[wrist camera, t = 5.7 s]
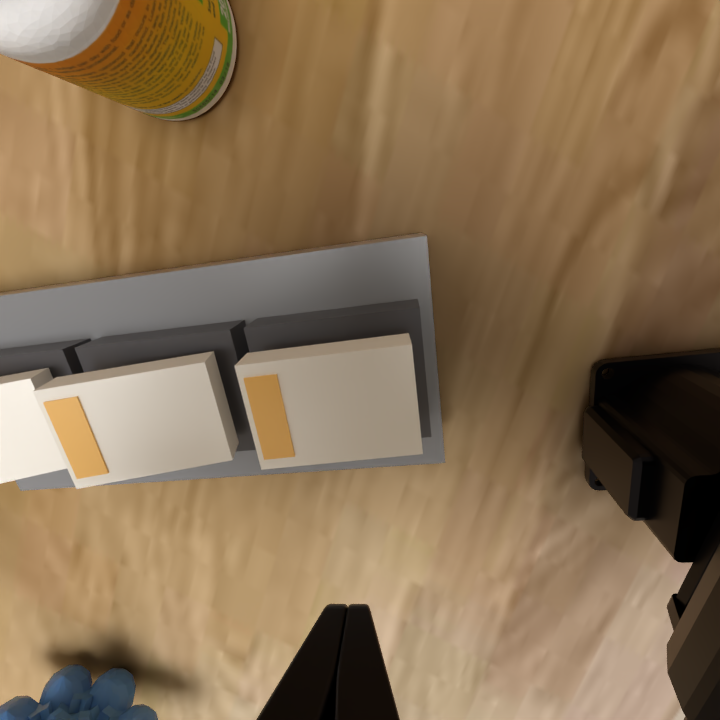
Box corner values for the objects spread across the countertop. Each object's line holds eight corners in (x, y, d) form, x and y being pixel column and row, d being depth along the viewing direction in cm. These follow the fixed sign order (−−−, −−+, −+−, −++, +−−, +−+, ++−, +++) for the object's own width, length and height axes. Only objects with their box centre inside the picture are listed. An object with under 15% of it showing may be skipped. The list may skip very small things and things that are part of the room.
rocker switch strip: (421, 232, 16) (430, 237, 12) (438, 426, 19) (449, 484, 15) (-2, 292, 19) (-116, 314, 15) (69, 455, 22) (-8, 511, 17)
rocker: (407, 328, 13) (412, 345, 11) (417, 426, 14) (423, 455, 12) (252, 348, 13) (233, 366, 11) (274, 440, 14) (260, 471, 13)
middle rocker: (217, 346, 14) (204, 363, 12) (241, 435, 15) (232, 461, 13) (66, 371, 14) (30, 392, 12) (102, 460, 15) (75, 490, 13)
